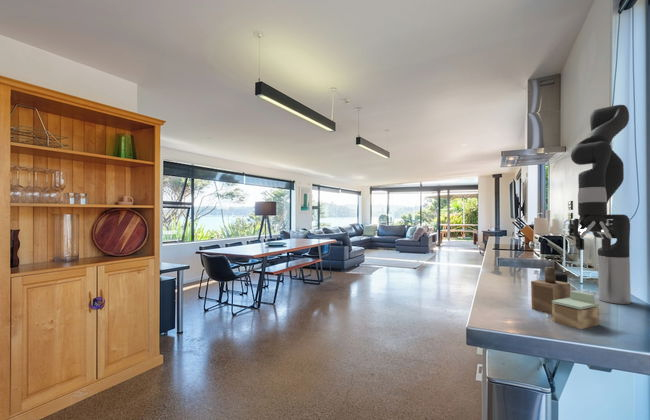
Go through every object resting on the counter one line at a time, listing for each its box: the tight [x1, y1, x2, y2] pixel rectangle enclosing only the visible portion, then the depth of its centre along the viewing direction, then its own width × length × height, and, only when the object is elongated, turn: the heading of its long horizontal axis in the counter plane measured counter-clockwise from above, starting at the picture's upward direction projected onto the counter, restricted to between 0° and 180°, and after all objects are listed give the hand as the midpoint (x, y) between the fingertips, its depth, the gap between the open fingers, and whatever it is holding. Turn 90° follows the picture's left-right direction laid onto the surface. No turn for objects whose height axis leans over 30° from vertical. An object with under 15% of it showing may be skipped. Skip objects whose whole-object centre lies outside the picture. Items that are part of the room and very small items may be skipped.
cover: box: [530, 266, 571, 315], centre depth 111 cm, size 8×8×16 cm
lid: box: [552, 290, 600, 310], centre depth 99 cm, size 9×8×3 cm
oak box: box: [551, 304, 600, 330], centre depth 99 cm, size 9×8×6 cm
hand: (593, 249), depth 108 cm, fingers open, 8 cm apart
